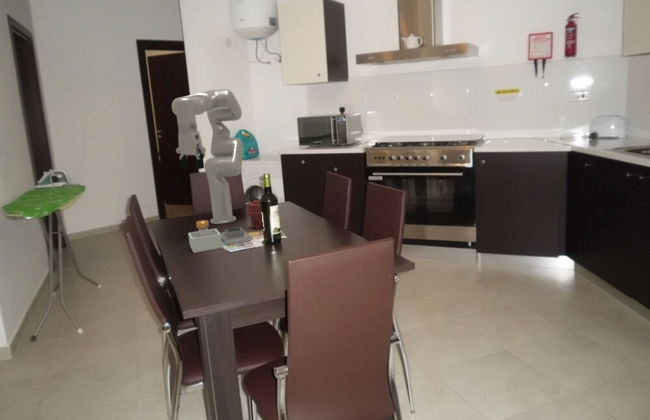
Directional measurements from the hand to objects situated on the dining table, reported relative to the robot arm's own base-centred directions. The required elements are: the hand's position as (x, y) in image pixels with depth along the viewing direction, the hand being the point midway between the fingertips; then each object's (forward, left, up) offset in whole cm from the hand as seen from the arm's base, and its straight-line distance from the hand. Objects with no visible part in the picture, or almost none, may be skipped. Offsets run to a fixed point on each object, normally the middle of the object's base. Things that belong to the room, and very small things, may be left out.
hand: (193, 168), depth 214 cm
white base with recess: (+13, +12, -30) cm, 35 cm away
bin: (+18, -1, -30) cm, 35 cm away
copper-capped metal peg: (+18, -1, -30) cm, 35 cm away
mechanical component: (0, +26, -31) cm, 40 cm away
